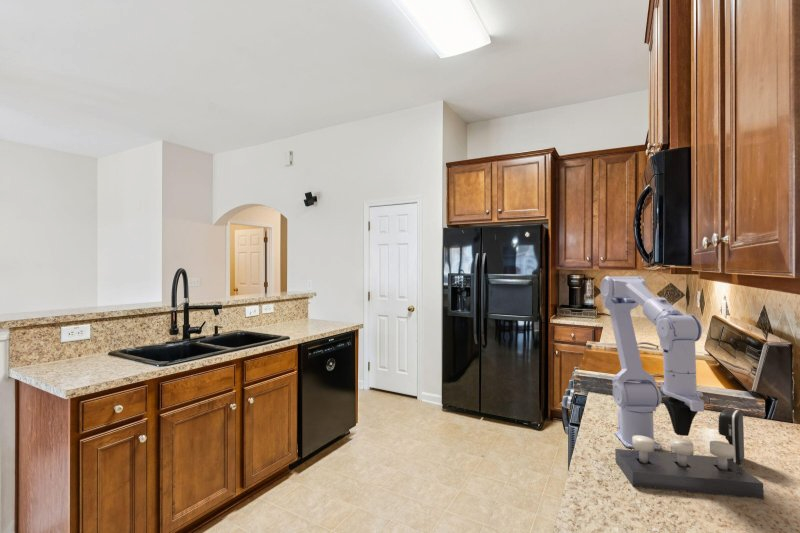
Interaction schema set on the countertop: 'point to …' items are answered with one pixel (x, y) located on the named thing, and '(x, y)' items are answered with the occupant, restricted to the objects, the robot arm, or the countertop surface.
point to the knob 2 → (722, 453)
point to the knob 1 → (643, 447)
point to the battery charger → (733, 431)
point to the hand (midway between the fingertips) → (681, 434)
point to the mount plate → (688, 474)
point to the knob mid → (681, 450)
